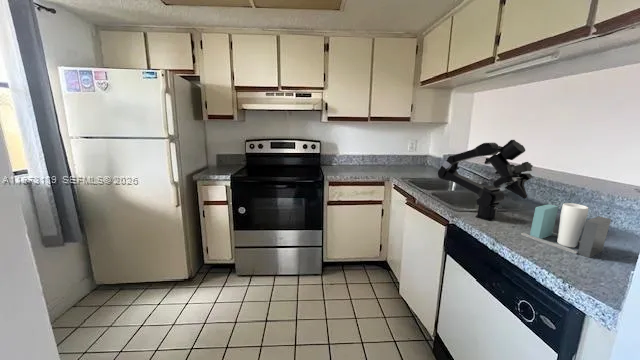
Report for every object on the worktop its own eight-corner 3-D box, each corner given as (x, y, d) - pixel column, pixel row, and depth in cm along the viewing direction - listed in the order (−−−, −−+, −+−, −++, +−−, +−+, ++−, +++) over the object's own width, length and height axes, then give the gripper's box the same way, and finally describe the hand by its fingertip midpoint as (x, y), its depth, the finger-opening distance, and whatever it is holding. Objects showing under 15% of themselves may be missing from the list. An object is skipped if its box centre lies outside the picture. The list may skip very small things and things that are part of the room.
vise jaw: (529, 236, 104) (535, 207, 101) (543, 232, 108) (549, 204, 106) (538, 239, 101) (545, 209, 99) (551, 235, 106) (558, 206, 103)
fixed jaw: (521, 234, 106) (527, 205, 103) (537, 230, 111) (543, 202, 108) (587, 258, 88) (597, 224, 86) (603, 251, 93) (612, 218, 91)
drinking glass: (580, 245, 97) (590, 206, 94) (577, 251, 93) (587, 210, 90) (555, 239, 102) (564, 201, 99) (552, 244, 98) (561, 205, 95)
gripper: (505, 156, 105) (532, 190, 98) (531, 154, 113) (557, 185, 106) (483, 172, 114) (505, 204, 107) (508, 169, 122) (531, 199, 115)
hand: (525, 198), depth 108 cm, fingers closed
